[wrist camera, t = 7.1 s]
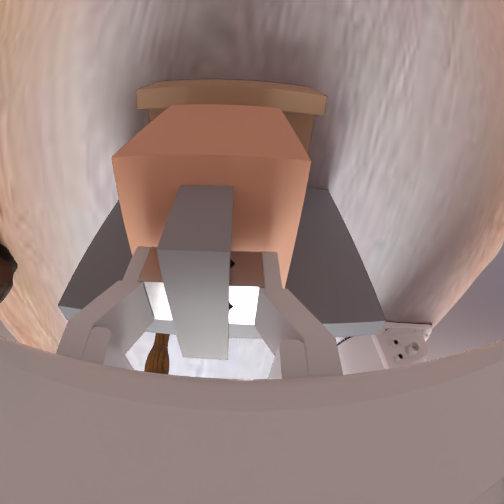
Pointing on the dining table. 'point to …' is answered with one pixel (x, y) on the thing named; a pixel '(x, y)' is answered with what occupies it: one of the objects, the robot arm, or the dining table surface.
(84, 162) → the dining table surface
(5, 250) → the owl
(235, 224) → the tall peach box
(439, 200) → the dining table surface
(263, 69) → the dining table surface
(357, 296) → the board
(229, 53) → the dining table surface
